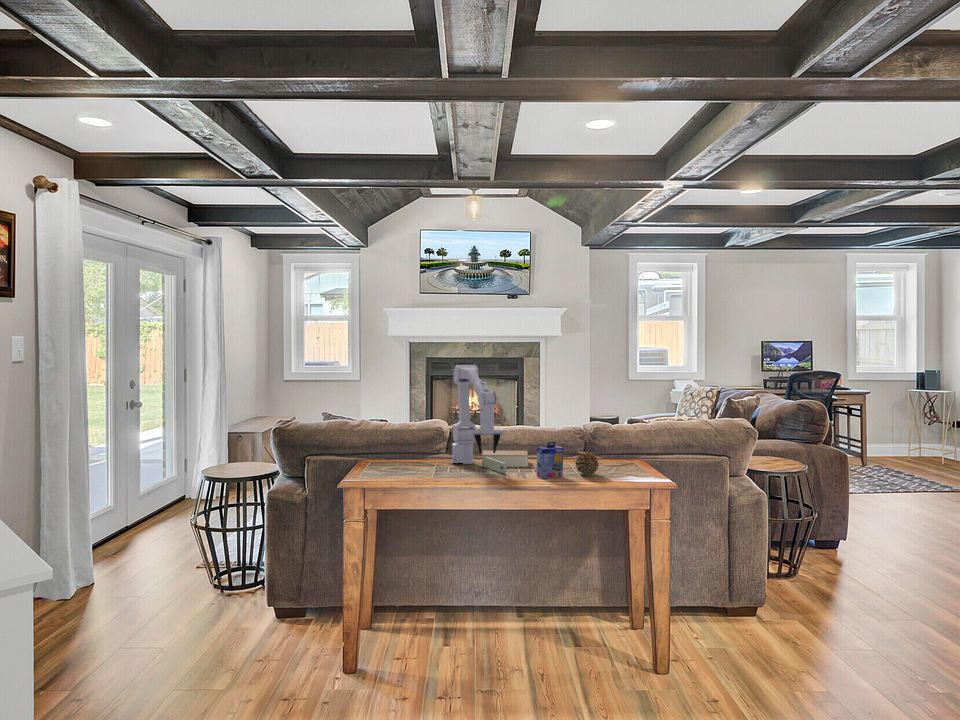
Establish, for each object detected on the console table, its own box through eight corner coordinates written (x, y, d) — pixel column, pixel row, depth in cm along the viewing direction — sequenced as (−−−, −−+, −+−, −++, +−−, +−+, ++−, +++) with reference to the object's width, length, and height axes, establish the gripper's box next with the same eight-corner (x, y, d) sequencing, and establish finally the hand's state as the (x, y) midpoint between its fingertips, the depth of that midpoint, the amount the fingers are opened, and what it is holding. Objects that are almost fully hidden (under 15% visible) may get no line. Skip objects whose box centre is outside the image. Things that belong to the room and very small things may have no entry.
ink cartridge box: (542, 479, 263) (542, 443, 262) (535, 476, 268) (535, 441, 268) (563, 477, 267) (564, 441, 266) (557, 474, 272) (557, 439, 271)
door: (481, 466, 289) (481, 456, 289) (484, 465, 290) (484, 456, 289) (502, 473, 272) (502, 463, 272) (506, 473, 273) (506, 463, 273)
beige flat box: (482, 466, 290) (482, 455, 289) (482, 461, 302) (482, 450, 301) (527, 466, 289) (527, 455, 289) (527, 461, 301) (526, 450, 301)
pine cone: (602, 479, 263) (602, 454, 263) (578, 479, 263) (578, 454, 262) (591, 468, 285) (591, 445, 285) (568, 468, 285) (568, 445, 284)
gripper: (470, 421, 271) (470, 454, 271) (505, 421, 272) (505, 454, 272) (469, 419, 278) (469, 451, 278) (503, 419, 279) (503, 451, 279)
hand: (487, 452), depth 276 cm, fingers open, 5 cm apart
